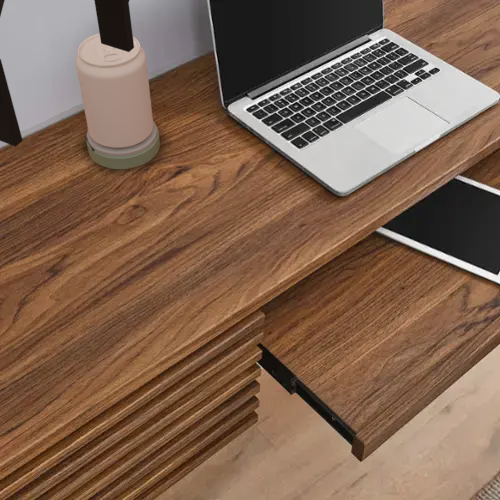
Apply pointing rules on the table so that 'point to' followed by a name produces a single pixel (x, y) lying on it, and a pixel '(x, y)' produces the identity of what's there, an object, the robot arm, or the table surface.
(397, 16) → the table surface
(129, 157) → the beige and green disc
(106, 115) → the beverage can
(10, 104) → the robot arm
